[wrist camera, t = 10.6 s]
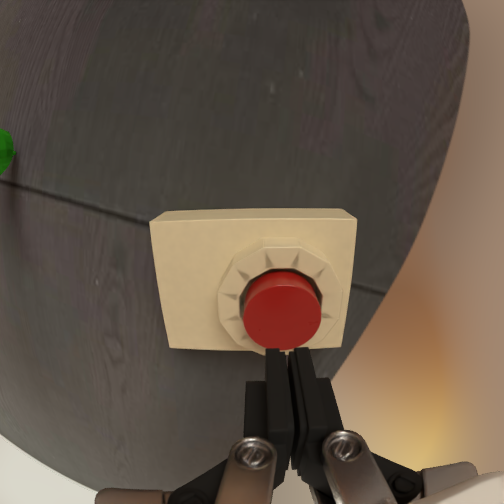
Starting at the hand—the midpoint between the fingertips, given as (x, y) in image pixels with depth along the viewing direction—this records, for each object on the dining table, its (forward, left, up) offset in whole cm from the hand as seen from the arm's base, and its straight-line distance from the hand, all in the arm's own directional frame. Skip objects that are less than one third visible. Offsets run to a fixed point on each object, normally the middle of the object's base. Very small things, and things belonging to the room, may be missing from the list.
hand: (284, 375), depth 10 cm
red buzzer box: (+1, 0, -10) cm, 10 cm away
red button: (0, 0, -6) cm, 5 cm away
